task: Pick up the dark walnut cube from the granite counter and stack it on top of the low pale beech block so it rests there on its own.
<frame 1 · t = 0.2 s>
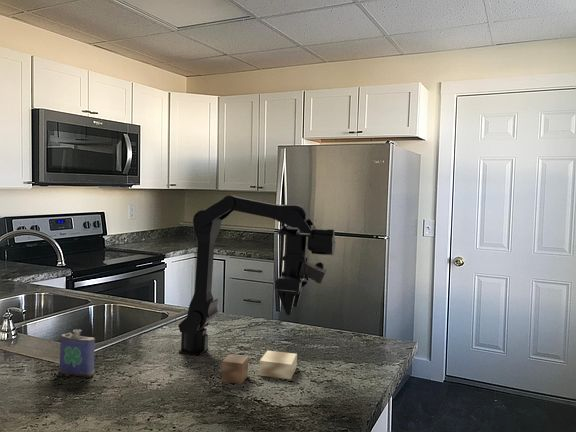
hand: (291, 310, 130), 14 cm above the worktop, fingers open, 9 cm apart
walnut cube: (234, 379, 119), on the worktop
beech block: (278, 372, 125), on the worktop
flask: (76, 374, 117), on the worktop
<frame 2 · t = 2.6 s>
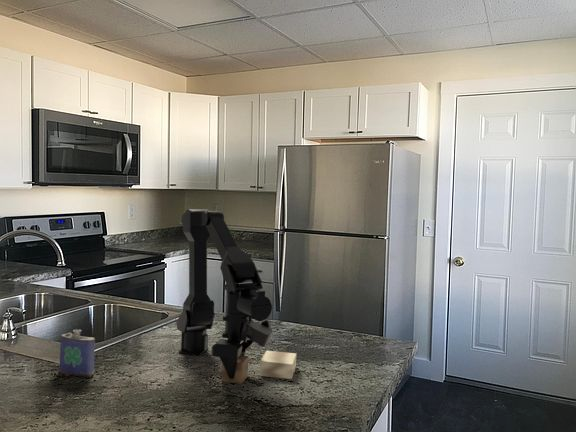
hand: (235, 374, 119), 1 cm above the worktop, fingers closed on walnut cube, 5 cm apart
walnut cube: (234, 378, 119), on the worktop, touching gripper
everything else where it was.
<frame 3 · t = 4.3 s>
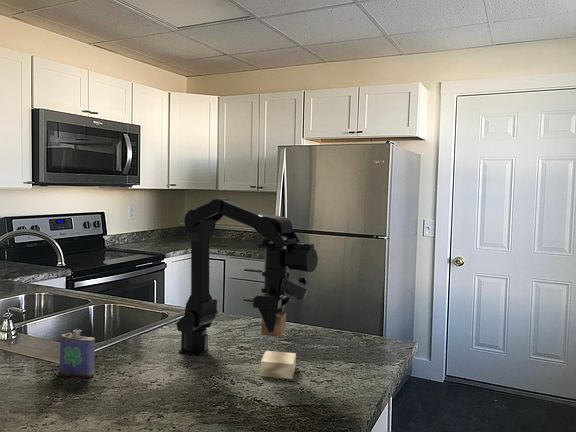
hand: (273, 329, 123), 11 cm above the worktop, fingers closed on walnut cube, 5 cm apart
walnut cube: (273, 333, 123), point 10 cm above the worktop, touching gripper
everything else where it was.
when the fingers open (6 cm above the worktop, at t = 6.1 s): walnut cube drops 1 cm, point 4 cm above the worktop.
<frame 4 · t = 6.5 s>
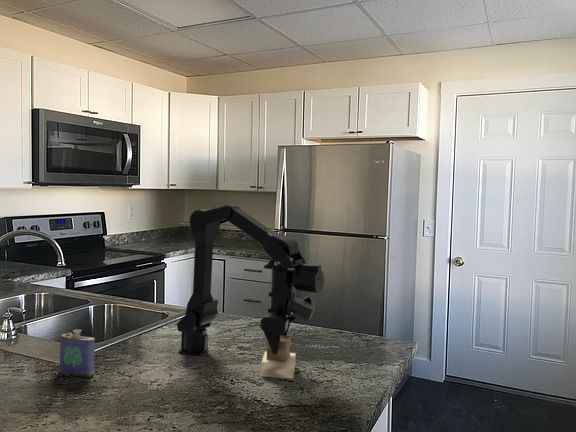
hand: (279, 348, 124), 6 cm above the worktop, fingers open, 9 cm apart
walnut cube: (278, 357, 124), point 4 cm above the worktop
everything else where it was.
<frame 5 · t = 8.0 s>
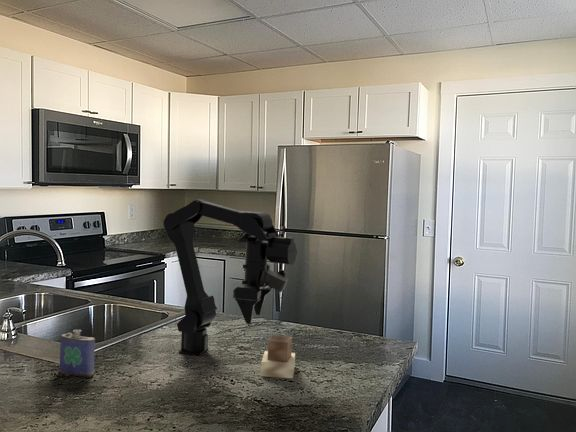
hand: (253, 319, 128), 12 cm above the worktop, fingers open, 9 cm apart
walnut cube: (279, 357, 124), point 4 cm above the worktop, touching beech block
beech block: (278, 372, 125), on the worktop, touching walnut cube
everything else where it was.
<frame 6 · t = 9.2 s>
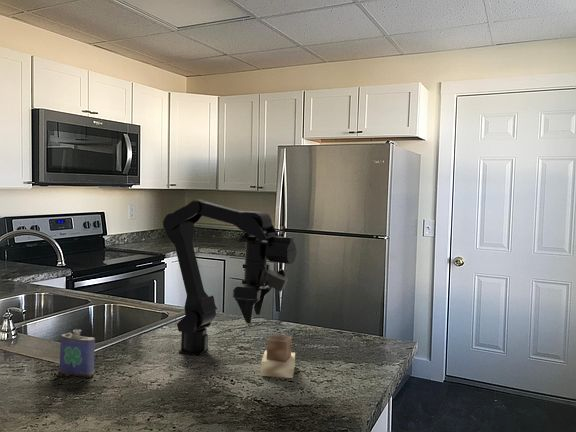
hand: (253, 318, 129), 12 cm above the worktop, fingers open, 9 cm apart
nothing on the worktop moved.
at the end: walnut cube 0.5 cm off-centre on the beech block, point 4.0 cm above the beech block's base; walnut cube tilted 0°; the gripper is holding nothing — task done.
